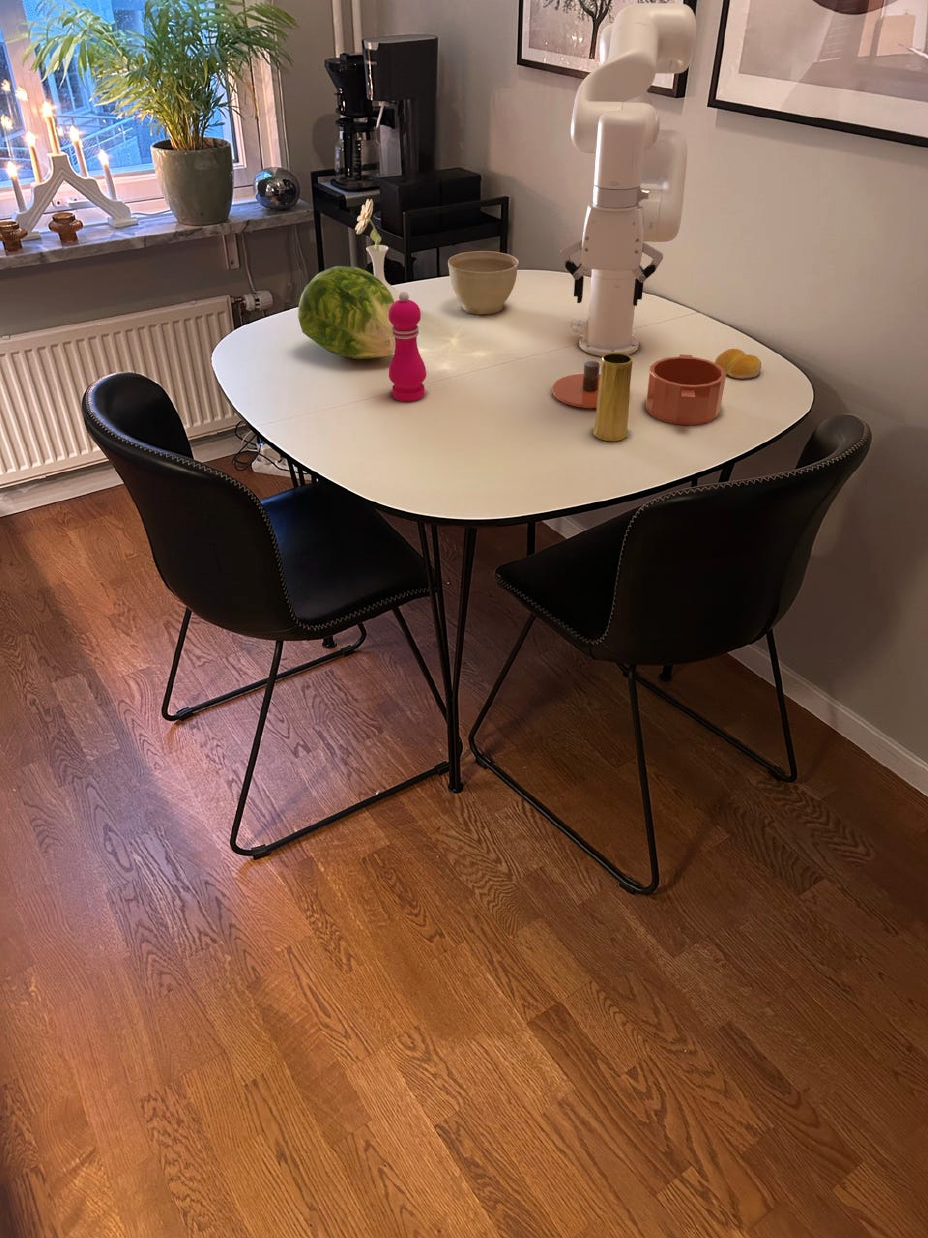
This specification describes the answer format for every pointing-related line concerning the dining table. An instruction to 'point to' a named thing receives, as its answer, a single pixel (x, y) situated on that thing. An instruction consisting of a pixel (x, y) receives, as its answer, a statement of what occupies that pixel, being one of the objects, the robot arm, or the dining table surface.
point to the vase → (613, 397)
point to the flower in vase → (375, 247)
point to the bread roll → (739, 364)
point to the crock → (685, 390)
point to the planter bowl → (483, 279)
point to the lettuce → (348, 313)
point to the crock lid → (580, 387)
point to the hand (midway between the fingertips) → (607, 301)
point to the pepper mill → (406, 351)
